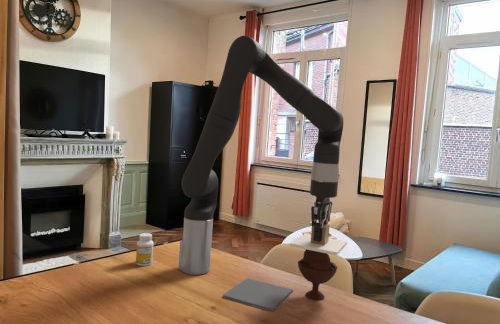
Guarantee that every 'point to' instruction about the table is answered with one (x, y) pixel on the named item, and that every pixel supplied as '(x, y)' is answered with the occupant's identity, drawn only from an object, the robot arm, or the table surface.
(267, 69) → the robot arm
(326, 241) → the lid
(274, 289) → the mat
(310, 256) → the ice cream bowl
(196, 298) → the table surface
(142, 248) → the supplement bottle
